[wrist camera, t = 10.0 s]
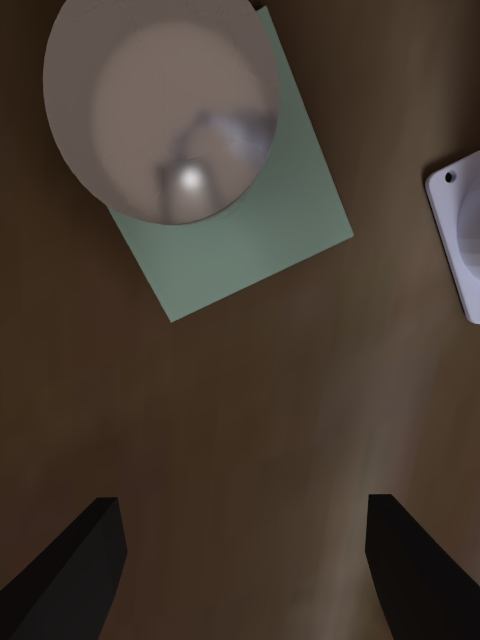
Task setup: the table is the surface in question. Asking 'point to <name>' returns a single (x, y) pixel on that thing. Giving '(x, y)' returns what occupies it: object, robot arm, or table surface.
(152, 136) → the polished metal knob
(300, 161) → the rubber mat
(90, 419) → the table surface
